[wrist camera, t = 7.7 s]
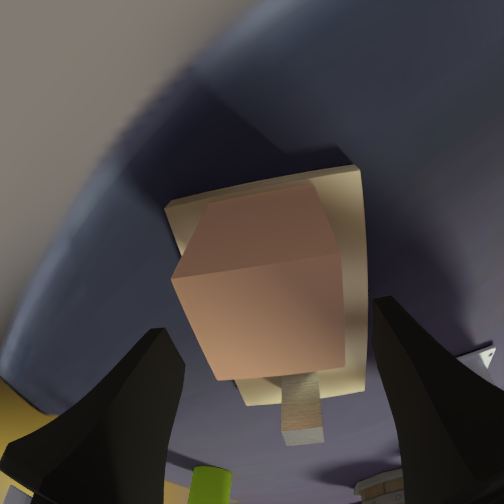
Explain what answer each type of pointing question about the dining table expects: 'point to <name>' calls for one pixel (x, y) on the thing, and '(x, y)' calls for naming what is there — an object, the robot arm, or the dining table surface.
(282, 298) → the tan cardboard box
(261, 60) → the dining table surface
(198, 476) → the soap dispenser
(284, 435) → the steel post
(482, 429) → the robot arm
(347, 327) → the birch board
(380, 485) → the tankard
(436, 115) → the dining table surface
